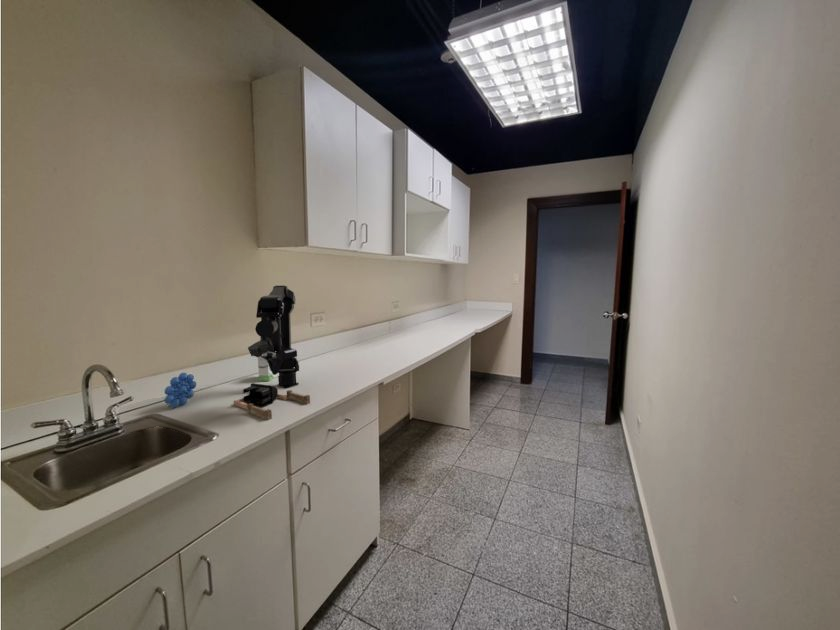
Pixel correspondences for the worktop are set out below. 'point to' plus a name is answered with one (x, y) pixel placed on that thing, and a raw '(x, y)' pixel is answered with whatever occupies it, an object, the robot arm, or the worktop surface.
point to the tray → (244, 405)
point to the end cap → (260, 395)
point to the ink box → (265, 370)
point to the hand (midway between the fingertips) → (274, 374)
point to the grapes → (180, 390)
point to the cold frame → (267, 413)
